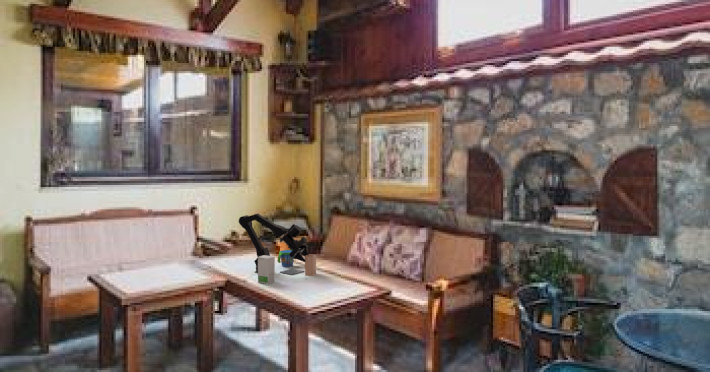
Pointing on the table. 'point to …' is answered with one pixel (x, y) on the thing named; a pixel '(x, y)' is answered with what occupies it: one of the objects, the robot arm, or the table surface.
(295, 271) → the slate coaster
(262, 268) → the skincare box
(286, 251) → the snack cup
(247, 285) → the table surface
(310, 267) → the tan rectangular block
